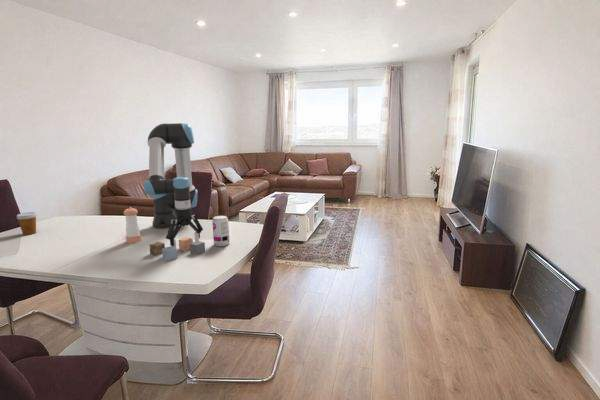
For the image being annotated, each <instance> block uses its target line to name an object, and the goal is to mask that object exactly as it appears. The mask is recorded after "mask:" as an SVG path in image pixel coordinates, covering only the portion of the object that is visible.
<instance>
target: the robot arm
mask: <svg viewBox="0 0 600 400" xmlns="http://www.w3.org/2000/svg"><path fill="white" fill-rule="evenodd" d="M193 144H195V139H194V135H193V128H192V125H190V124H189V123H184V122H182V123H181V122H179V123H159V124H158V125H155V127H153V129H151V131H150V133H149V134H148V136H147V146H148V147H149V151H148V152H149V154H148V155H149V156H148V159H149V160H148V180H144V182H143V190H144V194H145V195H147V196H152V202H153V211H154V212H153V213H154V216H153V218H152V219H153V220H152V228H154V229H168V231H167V233H166V236H165V239H166V240H169V242H170V244H169V245H170V246H173V247H175V248H177V240H176V236H177V234H178V233H179V232H180V230H181V229H182V228H183V227H188V226H189V227H191V229H193V230H194V231H195V232H194V242H196V241H200V238H201V233H202V231H204V229H203V227H202V225H201V223H200V221H199V220H198V216H197V215H196V214H192V208H195V207H197V204H198V189H197V188H196V187H195V186H194V185H193V178H192V166H191V165H192V164H191V163H192V162H191V152H190V149H191V148H192V147H193ZM167 145H171V148H172V149H174V159H175V169H176V177H174V178H173V179H171V178H170V179H165V148H166V146H167ZM192 221H193V222H194V223H193V222H192Z"/></svg>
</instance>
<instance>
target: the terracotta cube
mask: <svg viewBox="0 0 600 400" xmlns="http://www.w3.org/2000/svg"><path fill="white" fill-rule="evenodd" d="M193 242H194V240H193V238H191V237H188V236H187V237H183V238H179V239H178V249H180V250H182V251H185V252H186V251H188V250H190V243H193Z"/></svg>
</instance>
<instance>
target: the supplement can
mask: <svg viewBox="0 0 600 400" xmlns="http://www.w3.org/2000/svg"><path fill="white" fill-rule="evenodd" d="M211 221H212V236H213V245H214V246H215V247H218V246H223V247H227V246H228V245H229V244H230V227H229V218H228V217H227V215H216V216H213V218H212V220H211ZM226 245H227V246H226Z"/></svg>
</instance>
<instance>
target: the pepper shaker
mask: <svg viewBox="0 0 600 400" xmlns="http://www.w3.org/2000/svg"><path fill="white" fill-rule="evenodd" d="M138 213H139V211H138V209H137V208H134V207H131V206H130V207H128V208H126V209H125V210H124V211H123V215H124V216H125V222H126V223H125V238H126V239H125V240H126V243H127V244H137V243H140V242H141V241H142V236H141V233H140V226H139V223H138V217H137V215H138Z"/></svg>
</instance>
